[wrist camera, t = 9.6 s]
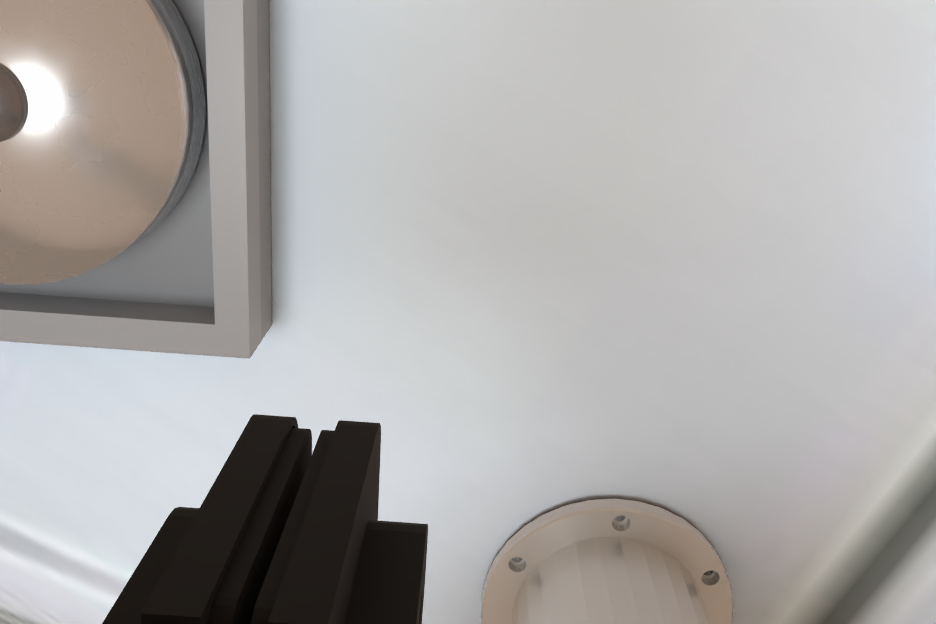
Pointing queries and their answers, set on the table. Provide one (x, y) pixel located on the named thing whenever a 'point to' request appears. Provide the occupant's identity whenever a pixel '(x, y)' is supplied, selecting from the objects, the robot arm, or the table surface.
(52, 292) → the tray
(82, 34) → the dial
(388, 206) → the table surface
